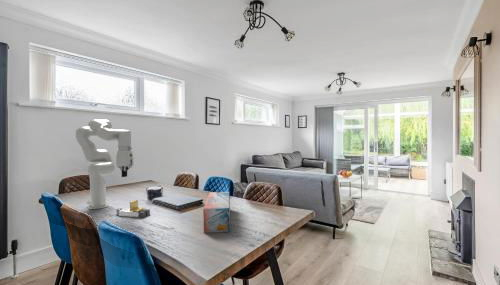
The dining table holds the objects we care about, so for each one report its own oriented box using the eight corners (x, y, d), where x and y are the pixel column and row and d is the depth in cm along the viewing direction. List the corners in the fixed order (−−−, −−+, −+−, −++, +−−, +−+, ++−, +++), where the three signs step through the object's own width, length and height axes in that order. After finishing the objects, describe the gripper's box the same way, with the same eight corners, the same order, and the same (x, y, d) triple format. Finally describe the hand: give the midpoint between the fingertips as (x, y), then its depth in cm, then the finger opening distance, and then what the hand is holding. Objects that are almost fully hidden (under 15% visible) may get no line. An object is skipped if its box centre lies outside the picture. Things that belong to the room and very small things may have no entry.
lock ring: (129, 211, 153) (129, 202, 153) (137, 207, 160) (136, 199, 160) (138, 211, 151) (137, 202, 151) (145, 208, 158) (145, 199, 158)
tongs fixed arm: (123, 214, 158) (122, 209, 158) (126, 212, 161) (126, 208, 161) (146, 215, 155) (146, 210, 154) (149, 214, 157) (149, 209, 157)
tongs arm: (113, 215, 156) (113, 210, 156) (119, 213, 161) (119, 208, 161) (142, 217, 151) (142, 212, 151) (147, 215, 155) (147, 210, 155)
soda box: (230, 233, 126) (230, 207, 126) (203, 234, 125) (202, 209, 124) (229, 209, 167) (229, 190, 166) (209, 210, 165) (208, 191, 165)
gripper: (138, 149, 163) (138, 176, 164) (119, 148, 166) (119, 174, 167) (130, 149, 155) (130, 178, 156) (110, 148, 159) (110, 176, 160)
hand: (124, 176), depth 162 cm, fingers closed
